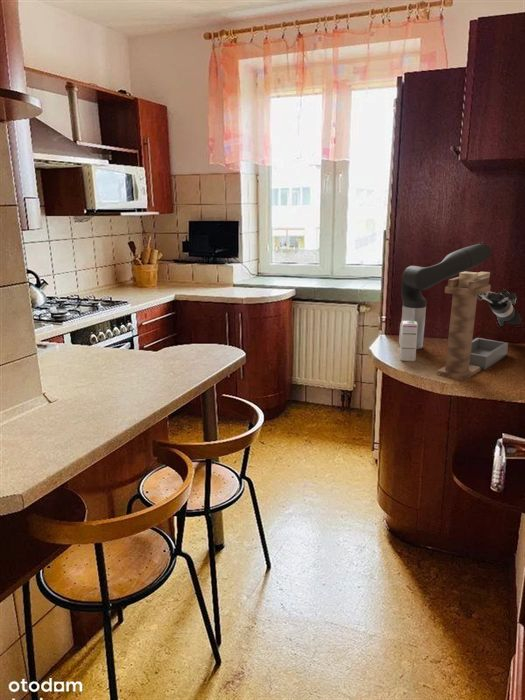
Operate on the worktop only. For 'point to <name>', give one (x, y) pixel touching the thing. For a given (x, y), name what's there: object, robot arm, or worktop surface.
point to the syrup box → (408, 340)
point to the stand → (462, 327)
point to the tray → (487, 352)
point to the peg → (470, 277)
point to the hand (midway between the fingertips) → (491, 289)
